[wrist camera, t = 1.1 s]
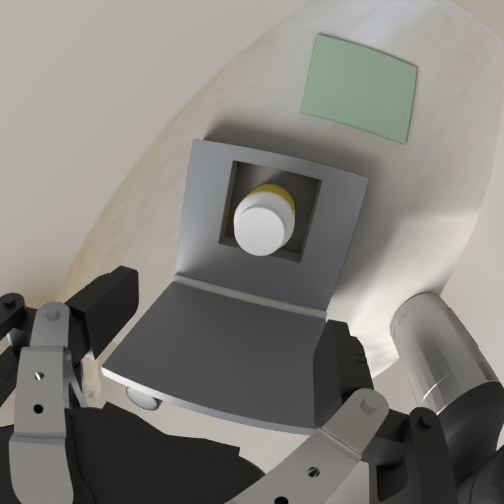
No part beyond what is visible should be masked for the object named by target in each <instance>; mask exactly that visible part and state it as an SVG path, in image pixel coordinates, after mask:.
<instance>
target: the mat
mask: <svg viewBox="0 0 504 504" xmlns="http://www.w3.org/2000/svg"><path fill="white" fill-rule="evenodd" d="M416 70H417V68H416V67H414V66H412V65H410V64H407V63H405V62H403V61H400V60H398V59H395V58H393V57H390V56H388V55H385V54H382V53H380V52H377V51H374V50H371V49H368V48H365V47H362V46H359V45H356V44H352V43H349V42H346V41H342V40H338V39H334V38H331V37H327V36H322V35H318V34H316V39H315V44H314V49H313V54H312V59H311V64H310V69H309V74H308V79H307V84H306V89H305V94H304V99H303V104H302V108H301V113H304V114H308V115H313V116H317V117H320V118H324V119H328V120H332V121H335V122H339V123H342V124H346V125H349V126H352V127H356V128H359V129H362V130H365V131H368V132H371V133H374V134H377V135H380V136H383V137H385V138H388V139H391V140H393V141H396V142H399V143H401V144H405V142H406V137H407V132H408V126H409V121H410V115H411V109H412V102H413V95H414V88H415V80H416Z"/></svg>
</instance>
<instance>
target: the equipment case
mask: <svg viewBox="0 0 504 504" xmlns="http://www.w3.org/2000/svg"><path fill="white" fill-rule="evenodd" d="M238 161H241V162H246V163H251V164H256V165H261V166H265V167H270V168H275V169H279V170H283V171H288V172H292V173H296V174H300V175H304V176H308V177H312V178H316V179H319V183H318V187H317V191H316V195H315V199H314V203H313V207H312V211H311V215H310V219H309V222H308V226H307V230H306V234H305V237H304V241H303V245H302V248H301V252H300V253H297V252H293V251H289V250H285V249H280V248H278V249H277V250H276V251H275V252H273V253H271V254H268V255H264V256H258V255H253V254H250V253H248V252H246V251H245V250H244V249H242V248H241V246H240V245H239V244H238V242H237V240H236V238H234V237H230V236H226V235H225V232H226V226H227V220H228V215H229V209H230V203H231V198H232V192H233V187H234V182H235V176H236V171H237V166H238ZM368 180H369V178H367V177H365V176H362V175H359V174H356V173H352V172H349V171H346V170H342V169H339V168H335V167H331V166H328V165H324V164H320V163H316V162H313V161H309V160H305V159H300V158H296V157H292V156H288V155H283V154H279V153H274V152H269V151H264V150H259V149H254V148H249V147H244V146H238V145H232V144H226V143H220V142H214V141H207V140H198V139H193V143H192V149H191V155H190V161H189V167H188V174H187V181H186V188H185V195H184V203H183V211H182V219H181V228H180V237H179V247H178V258H177V270H176V274H175V275H174V277H173V282H172V283H171V284H170V285H169V286H168V287H167V288H166V290H165V291H164V292H163V293H162V294H161V295H160V296H159V298H158V299H157V300H156V301H155V302H154V303H153V305H152V306H151V307H150V308H149V309H148V310H147V312H146V313H145V314H144V315H143V316H142V318H141V319H140V320H139V321H138V322H137V323H136V325H135V326H134V327H133V328H132V329H131V331H130V332H129V333H128V334H127V335H126V337H125V338H124V339H123V340H122V342H121V343H120V344H119V345H118V346H117V348H116V349H115V350H114V351H113V353H112V354H111V355H110V356H109V358H108V359H107V360H106V361H105V363H104V364H103V365H102V366H101V368H102V372H103V375H104V376H106V377H108V378H111V379H113V380H115V381H117V382H119V383H121V384H124V385H126V386H128V387H130V388H133V389H135V390H137V391H140V392H142V393H145V394H147V395H150V396H152V397H155V398H158V399H160V400H163V401H166V402H169V403H171V404H174V405H178V406H180V407H183V408H186V409H189V410H192V411H196V412H199V413H202V414H206V415H209V416H213V417H217V418H220V419H224V420H228V421H232V422H236V423H240V424H245V425H249V426H254V427H259V428H264V429H270V430H275V431H281V432H288V433H295V434H303V435H312V434H313V433H314V432H315V431H316V430H317V429H318V428H320V426H314V389H313V355H314V351H315V348H316V346H317V344H318V341H319V339H320V337H321V334H322V332H323V330H324V327H325V325H326V320H325V319H326V315H327V311H326V310H327V307H328V305H329V302H330V300H331V297H332V294H333V292H334V289H335V286H336V283H337V281H338V278H339V275H340V272H341V269H342V266H343V263H344V260H345V257H346V254H347V251H348V248H349V245H350V242H351V239H352V236H353V233H354V229H355V226H356V223H357V219H358V216H359V213H360V209H361V206H362V202H363V198H364V195H365V191H366V187H367V183H368Z"/></svg>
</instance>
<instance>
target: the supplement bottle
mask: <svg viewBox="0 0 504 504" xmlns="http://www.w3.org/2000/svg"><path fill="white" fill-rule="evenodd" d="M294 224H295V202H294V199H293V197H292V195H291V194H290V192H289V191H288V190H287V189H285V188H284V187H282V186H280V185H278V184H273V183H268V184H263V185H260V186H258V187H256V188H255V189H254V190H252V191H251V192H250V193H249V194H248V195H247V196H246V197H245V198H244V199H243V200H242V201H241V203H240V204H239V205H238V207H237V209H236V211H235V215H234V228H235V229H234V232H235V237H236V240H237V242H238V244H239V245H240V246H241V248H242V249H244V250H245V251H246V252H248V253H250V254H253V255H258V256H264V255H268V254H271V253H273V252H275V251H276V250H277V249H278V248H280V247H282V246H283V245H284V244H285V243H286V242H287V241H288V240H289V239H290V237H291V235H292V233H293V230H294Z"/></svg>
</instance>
